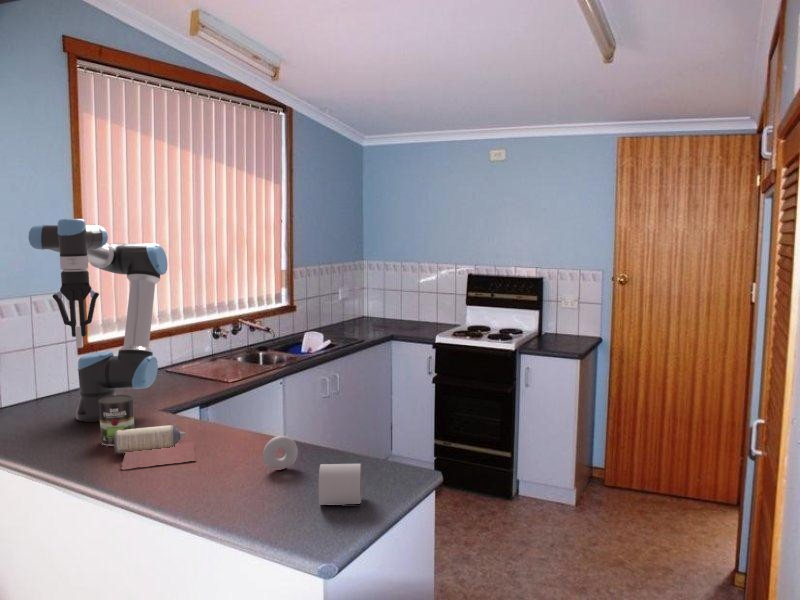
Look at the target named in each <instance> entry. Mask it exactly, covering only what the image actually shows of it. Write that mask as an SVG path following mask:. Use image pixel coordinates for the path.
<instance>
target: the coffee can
mask: <svg viewBox="0 0 800 600" xmlns="http://www.w3.org/2000/svg"><path fill="white" fill-rule="evenodd" d="M98 403H99V415H100V421H99V426H100V429H99V430H100V444H101V443H102V444H104V445H114V432H115V431H116V430H117V431H118V430H126V429H135V414H134V412H135V411H134V396H132V395H128V394H116V395H114V396H108V397H104V398H102V399H100V400H99V401H98ZM102 444H101V445H102Z"/></svg>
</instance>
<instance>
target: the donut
mask: <svg viewBox="0 0 800 600" xmlns="http://www.w3.org/2000/svg"><path fill="white" fill-rule="evenodd" d="M282 448H283V449H284V450H285V454H284V456H283V457H280V458H278V457H276V452H277V451H278V450H279V449H282ZM298 452H299V449H298V445H297V444H296V442H295V440H294V439H292V438H291V437H290V436H286V435H279V436H278V435H277V436H275V437H273V438H271V439H270V440H269V441H268V442H267V443H266V444H265V445H264V448H263V451H262V457H263V461H264V464H265V465H266V467H268V468H280V467H287V466H290V467H292V466H293V464H294V463H295V462H296V460H297V458H298ZM291 465H292V466H291Z"/></svg>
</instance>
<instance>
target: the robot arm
mask: <svg viewBox="0 0 800 600" xmlns="http://www.w3.org/2000/svg"><path fill="white" fill-rule="evenodd" d="M27 238H28V242H29V244H30V246H31V247H32V248H33V249H36V250H42V251H44V250H49V251H53V252H57V253H59V266H60V267H59V268H60V270H62V271H61V272H60V279H61V280H60V281H61V286H60V288H59V291H58V292H56V293H54V294H53V295H52V298H53V299H54V301H55V302H56V303H57V304H56V305H57V307H58V310H59V313H60V315H61V319H62V321H63V324H64V325H65V326H69V327H70V329H71V336H72V338H75V341H76V343H75V344H76V345H75V346H76V349H82V348H83V347H84V339H83V337H86V336H87V325H89V324H91V323H92V321H93V318H94V312H95V309H96V308H95V307H96V304H97V303H96V302H97V299H98V298H99V296H100V292H99V291H96V290H93V289H92V286H91V285H90V276H89V275H90V273H89V270H87V269H89V264H90V265H91V266H92V267H94V268H97V269H99V270H102V271H105V272H108V273H113V274H116V275H117V274H118V275H126V279H127V280H128V281H129V282H130V284H129V293H128V302H127V310H126V311H127V312H126V322H125V330H124V341H123V346H122V347H121V348H119V349H118V353H117V355H114V352H113V351H110V350H105V351H98V352H94V353H89V354H86V355H83V356H81V357H80V358H79V359H78V361H77V371H78V385H79V396H80V397H79V401H78V405H77V408H76V412H75V419H76V421H78V420H79V421H78V422H82V421H84V422H83V423H94V422H95V423H96V422H97V421H98V422H100V415H99V403H98V401H99V400H100V399H102V398H104V397H108V396H114V395H117V394H116V389H129V390H130V389H132V390H138V389H147V388H150V387H151V386H152V385H153V383H154V382H155V381H156V378H157V374H158V370H159V364H158V359H157V357H156V356H154V352H153V350H151V348H150V343H151V342H150V339H151V330H152V329H151V328H152V320H153V309H154V299H155V291H156V290H155V289H156V284H157V283H159V282H160V281H161V276H163V275H165V274H166V273H167V271H168V257H167V254H166V251H165V249H164V248H163V246H162V245H160V244H158V243H151V242H147V243H107V242H108V238H109V236H108V231H107V230H106V229H105V228H104V227H103V226H101V225H99V224H86V221H85V220H84V219H83V218H61V219H59V220H58V221H57V224H56V225H53V224H52V225H51V224H46V225H45V224H42V225H40V224H39V225H34V226H32V227H31V228H30V229H29V231H28V237H27ZM89 294H90V304H89V308H88V313H87V314H88V315H87V318H86V309H85V308H86V307H85V306H86V305H85V300H86V298H87V297H88V296H89ZM63 296H64V297H65V299H66V300H67V301H68V304H69V316H70V317H69V316H68V313H67V310H66V307H65V303H64V301H63ZM76 301H77V302H78V307H79V308H78V309H79V310H78V311H79V322H80V323H79V324H78V325H77V313H76ZM69 318H70V319H69Z"/></svg>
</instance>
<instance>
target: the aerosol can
mask: <svg viewBox="0 0 800 600" xmlns="http://www.w3.org/2000/svg"><path fill="white" fill-rule="evenodd" d="M184 438H186V432H185V431H182V430H181V431H180V429H179V428H177V427H175V425H171V424H170V425H169V424H168V425H160V426H149V427H148V426H147V427H137V428H134V429H126V430H118V431H117V430H116V431H115V432H114V447H113V448H114V454H122V453H123V454H124V452H133V451H142V450H152V449H161V448H170V447H173V446H174V447H175V445H176V444H178V443H180V441H181V440H182V439H184Z"/></svg>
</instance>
